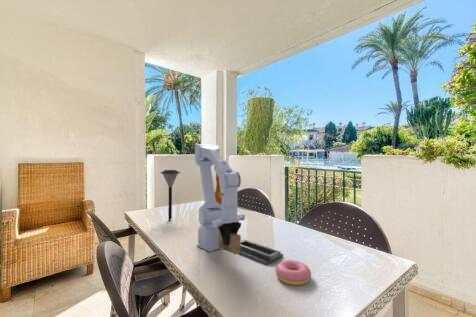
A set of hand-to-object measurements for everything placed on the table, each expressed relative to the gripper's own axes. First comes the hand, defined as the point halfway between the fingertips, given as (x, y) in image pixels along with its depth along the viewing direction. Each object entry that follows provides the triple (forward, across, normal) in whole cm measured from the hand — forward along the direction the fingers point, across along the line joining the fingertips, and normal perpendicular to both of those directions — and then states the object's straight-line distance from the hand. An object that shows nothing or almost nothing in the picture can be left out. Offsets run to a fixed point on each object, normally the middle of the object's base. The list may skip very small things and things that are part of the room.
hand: (229, 243), depth 83 cm
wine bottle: (+7, +23, +32) cm, 40 cm away
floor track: (+7, +13, -2) cm, 15 cm away
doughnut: (+7, +7, -22) cm, 24 cm away
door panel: (+2, 0, 0) cm, 2 cm away
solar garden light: (+7, +14, +66) cm, 68 cm away
